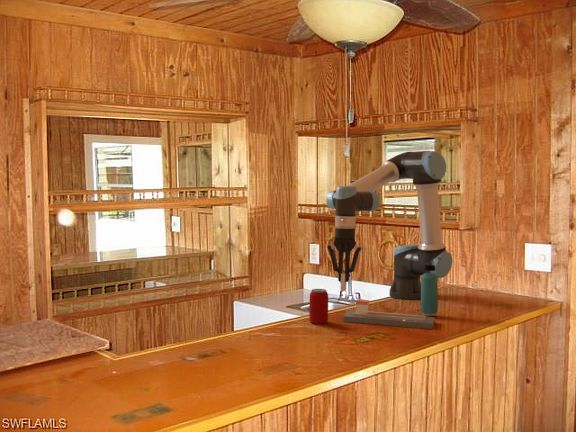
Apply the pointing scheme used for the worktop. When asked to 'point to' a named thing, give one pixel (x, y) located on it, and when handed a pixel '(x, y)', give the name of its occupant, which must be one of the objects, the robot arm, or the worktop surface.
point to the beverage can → (318, 306)
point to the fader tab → (362, 306)
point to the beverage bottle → (429, 291)
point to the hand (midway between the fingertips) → (343, 290)
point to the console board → (390, 319)
